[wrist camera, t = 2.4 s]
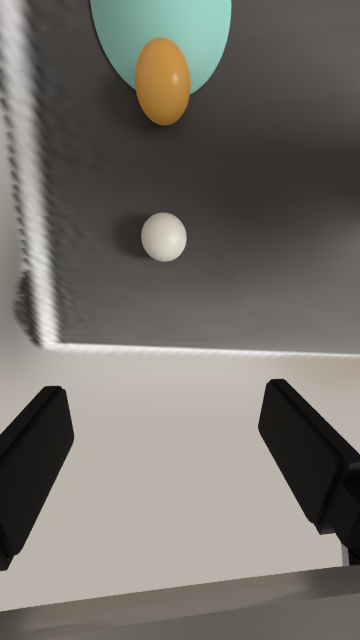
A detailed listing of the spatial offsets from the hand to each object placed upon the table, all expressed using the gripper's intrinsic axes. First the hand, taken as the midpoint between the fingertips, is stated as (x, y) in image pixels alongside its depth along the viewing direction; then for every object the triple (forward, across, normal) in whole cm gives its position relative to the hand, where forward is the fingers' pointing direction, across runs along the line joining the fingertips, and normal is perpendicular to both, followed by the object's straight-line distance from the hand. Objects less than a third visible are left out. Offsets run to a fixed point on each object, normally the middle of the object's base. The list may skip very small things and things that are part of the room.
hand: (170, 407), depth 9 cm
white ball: (+18, 0, -9) cm, 20 cm away
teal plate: (+21, 0, -30) cm, 37 cm away
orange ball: (+18, 0, -23) cm, 29 cm away
